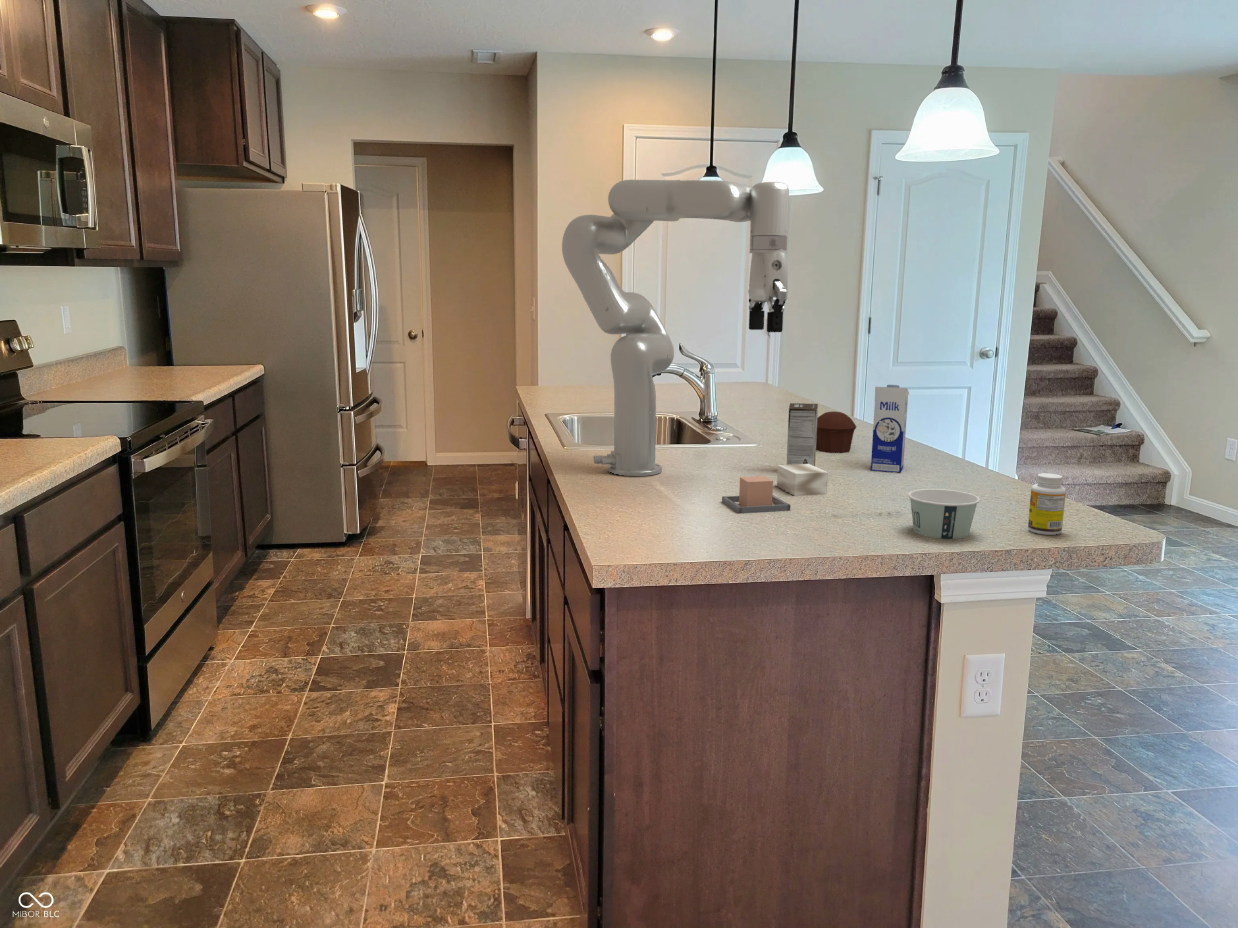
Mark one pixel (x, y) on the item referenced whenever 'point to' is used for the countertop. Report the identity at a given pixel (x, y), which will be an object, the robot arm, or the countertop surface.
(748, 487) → the block
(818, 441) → the muffin
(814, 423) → the coffee box
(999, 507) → the countertop surface
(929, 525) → the food container
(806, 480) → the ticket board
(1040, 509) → the supplement bottle
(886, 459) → the milk carton
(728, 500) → the tray
